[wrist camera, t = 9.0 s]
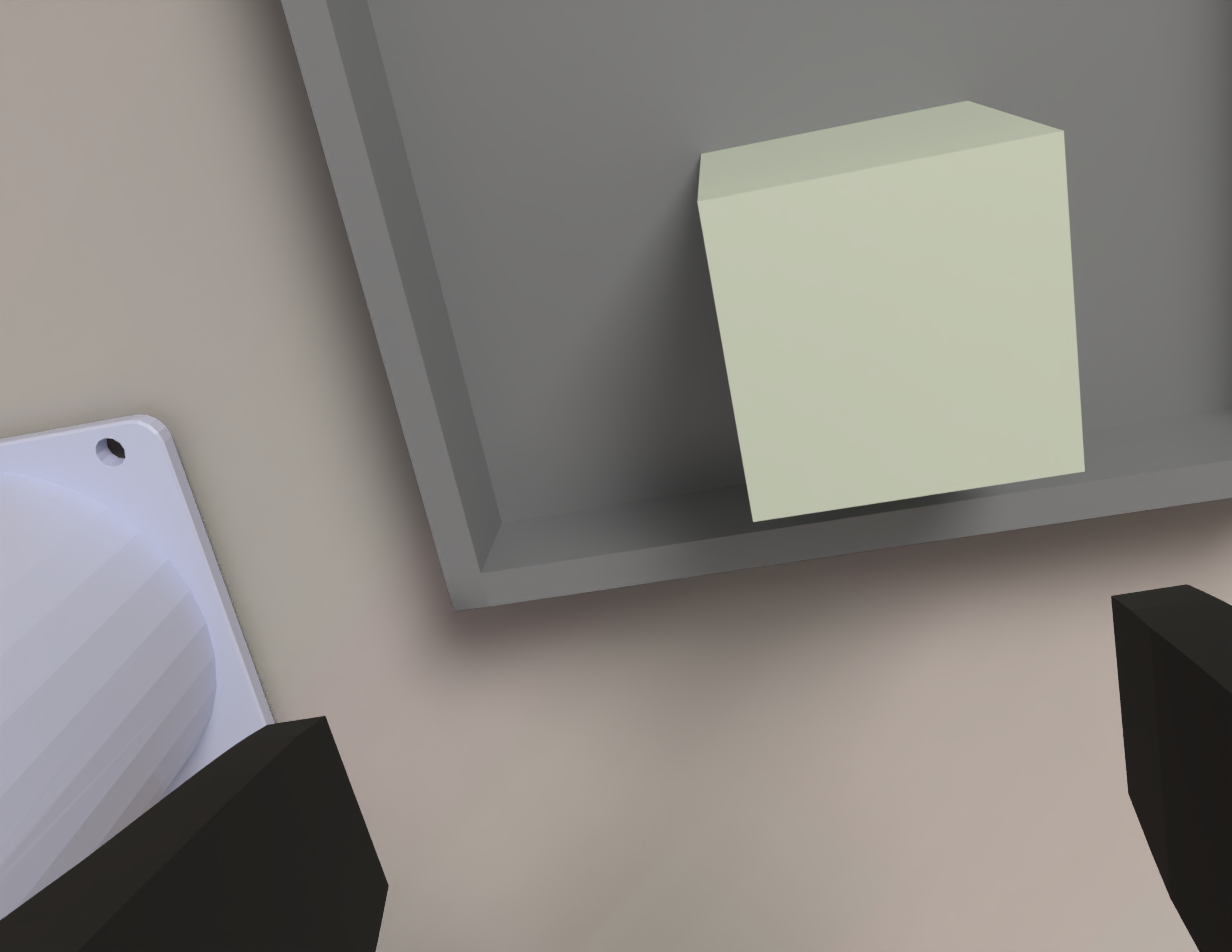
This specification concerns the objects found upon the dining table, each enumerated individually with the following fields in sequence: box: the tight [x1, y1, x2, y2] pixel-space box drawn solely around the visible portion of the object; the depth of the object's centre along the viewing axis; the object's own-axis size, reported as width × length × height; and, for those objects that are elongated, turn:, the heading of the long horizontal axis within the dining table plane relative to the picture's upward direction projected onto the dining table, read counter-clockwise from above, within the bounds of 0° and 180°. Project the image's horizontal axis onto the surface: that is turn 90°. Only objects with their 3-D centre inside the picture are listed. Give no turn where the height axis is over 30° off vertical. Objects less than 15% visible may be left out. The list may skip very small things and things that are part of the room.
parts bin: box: [281, 0, 1232, 612], centre depth 16 cm, size 14×15×2 cm
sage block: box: [697, 101, 1085, 522], centre depth 16 cm, size 4×4×5 cm
